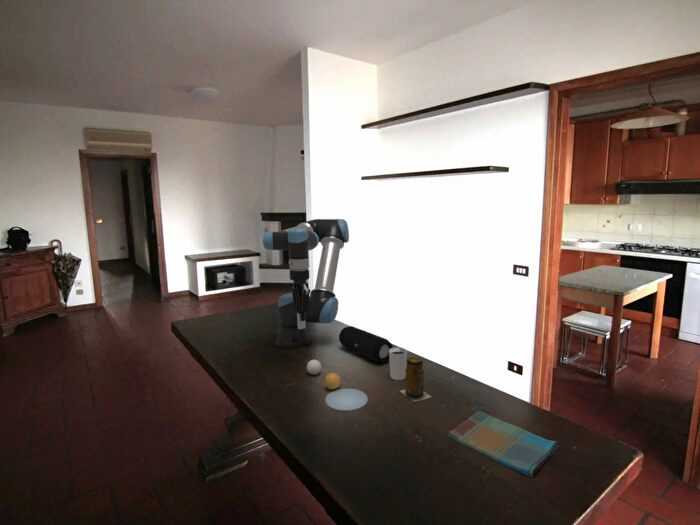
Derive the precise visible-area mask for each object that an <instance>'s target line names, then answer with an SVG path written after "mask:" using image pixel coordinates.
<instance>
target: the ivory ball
mask: <svg viewBox="0 0 700 525" xmlns="http://www.w3.org/2000/svg"><path fill="white" fill-rule="evenodd" d="M306 370H307V372H308V373H309V374H310V375H313V376H314V375H318V374H320V372H321V371H322V364H321V362H320V361H319V360H318V359H311V360H310V361H308V363H307V365H306Z"/></svg>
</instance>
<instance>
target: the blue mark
mask: <svg viewBox="0 0 700 525" xmlns="http://www.w3.org/2000/svg"><path fill="white" fill-rule="evenodd" d="M368 400H369V398H368V396H367V394H366V393H365V392H363V391H361V390H359V389H356V388H340V389H334V390H333V391H330V392H329V393H327V394H326V396H325V404H326V405H327V407H329V408H330V409H334V410H337V411H345V412H347V411H355V410H359V409H360V408H362V407H364V406H365V405H367V403H368Z"/></svg>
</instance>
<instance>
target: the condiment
mask: <svg viewBox="0 0 700 525" xmlns="http://www.w3.org/2000/svg"><path fill="white" fill-rule="evenodd" d="M424 370H425V368H424V366H423V359H422V358H420V357H417V356H416V357H415V356H410V357H409V358H408V357H407V363H406V377H405V388H404V389H401V390H399V392H400V393H402V394H403V395H404V396H405V397H407V398H408V399H409V400H411V401H412V402H414V403H415V402H419V401H423V400H426V399H429V398H430V399H431V398H432V395H430V394H429V393H427V392H426V391H424V387H425V386H424V383H425V382H424V381H425V380H424V378H425V371H424Z"/></svg>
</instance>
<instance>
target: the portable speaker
mask: <svg viewBox="0 0 700 525" xmlns="http://www.w3.org/2000/svg"><path fill="white" fill-rule="evenodd" d="M338 341H339V343H340V344H341V345H342V347H343V348H345V349H347V350H349V351H352V352H353V353H356V354H358V355H360V356H363V357H365V358H367V359H369V360H371V361H373V362H376V363H380V364H381V363H387V362H389V350H390V349H391V348H394V347H393V344H392V343H391V342H390V340H388V339H387V338H384V337H382V336H379V335H377V334H375V333H371V332H368V331H366V330H363V329H361V328H358V327H356V326H346V327H344V328H342V329H341V330H340V332H339V334H338Z"/></svg>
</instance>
